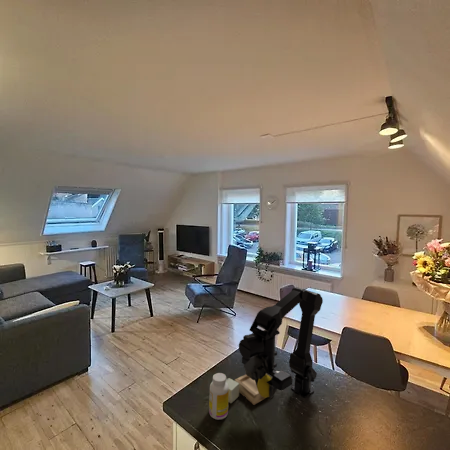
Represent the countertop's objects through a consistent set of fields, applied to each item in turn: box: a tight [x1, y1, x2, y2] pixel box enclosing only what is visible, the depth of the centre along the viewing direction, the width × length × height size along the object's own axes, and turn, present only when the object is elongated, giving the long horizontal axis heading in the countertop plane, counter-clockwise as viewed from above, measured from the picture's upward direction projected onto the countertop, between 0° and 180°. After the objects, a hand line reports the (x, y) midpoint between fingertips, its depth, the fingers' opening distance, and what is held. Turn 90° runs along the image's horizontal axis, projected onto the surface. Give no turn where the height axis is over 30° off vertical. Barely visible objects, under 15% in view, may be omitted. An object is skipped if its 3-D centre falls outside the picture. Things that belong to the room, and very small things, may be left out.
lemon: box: [257, 374, 272, 399], centre depth 87 cm, size 6×6×8 cm
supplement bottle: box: [208, 372, 229, 420], centre depth 88 cm, size 7×7×13 cm
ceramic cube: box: [226, 377, 240, 404], centre depth 96 cm, size 5×5×5 cm
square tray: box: [234, 373, 268, 406], centre depth 100 cm, size 11×11×4 cm
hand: (264, 392), depth 87 cm, fingers closed on lemon, 5 cm apart
